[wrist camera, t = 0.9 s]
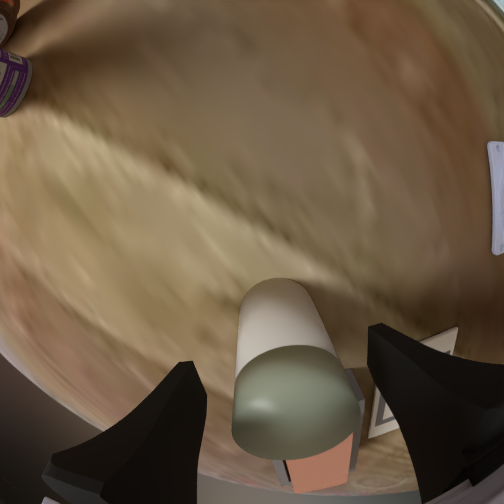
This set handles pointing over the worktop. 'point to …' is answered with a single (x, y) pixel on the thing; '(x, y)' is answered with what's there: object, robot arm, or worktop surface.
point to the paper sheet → (381, 413)
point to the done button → (321, 468)
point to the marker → (288, 377)
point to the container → (13, 81)
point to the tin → (8, 18)
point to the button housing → (282, 465)
